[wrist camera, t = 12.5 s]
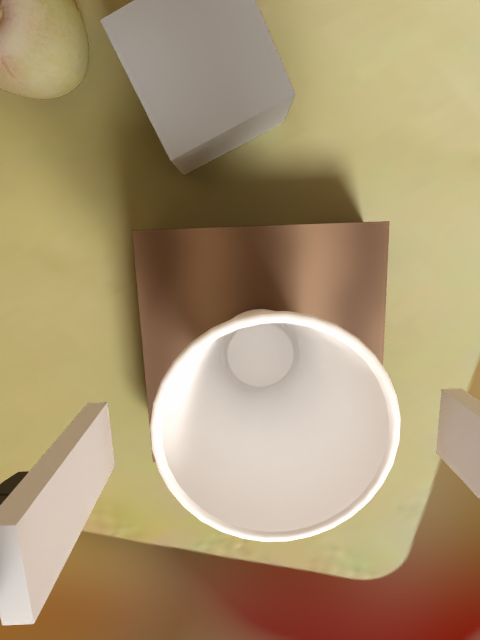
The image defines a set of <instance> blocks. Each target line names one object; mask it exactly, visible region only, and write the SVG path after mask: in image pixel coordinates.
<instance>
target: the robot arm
mask: <svg viewBox="0 0 480 640" xmlns="http://www.w3.org/2000/svg"><path fill="white" fill-rule="evenodd" d="M436 453H437V454H438V455H439V456H440V457H441V458H442V459H443V460H444V461H445V462H446V463H447V464H448V466H449V467H450V468H451V469H452V470H453V471H454V472H455V473H456V474H457V475H458V476H459V477H460V478H461V480H462V481H463V482H464V483H465V484H466V485H467V486H468V487H469V488H470V489H471V490H472V491H473V492H474V493H475V495H476V496H477V497H478V498H479V499H480V401H478V400H477V399H476V398H474V397H473V396H471V395H470V394H468V393H467V392H465V391H464V390H462V389H461V388H460V389H441V401H440V414H439V426H438V439H437V451H436ZM114 466H115V463H114V454H113V446H112V437H111V428H110V419H109V411H108V402H103V403H88V404H87V405H86V406H85V407H84V408H83V409H82V411H81V412H80V413H79V414H78V415H77V416H76V418H75V419H74V420H73V421H72V422H71V423H70V425H69V426H68V427H67V428H66V429H65V430H64V432H63V433H62V434H61V435H60V436H59V437H58V439H57V440H56V441H55V442H54V443H53V444H52V446H51V447H50V448H49V449H48V450H47V451H46V453H45V454H44V455H43V456H42V457H41V458H40V460H39V461H38V462H37V463H36V464H35V465H34V467H33V468H32V469H31V470H30V471H29V472H18V473H16V474H15V475H13V476H12V477H10V478H8V479H7V480H5V481H4V482H2V483H1V484H0V617H1V622H2V625H21V624H34V623H35V621H36V619H37V617H38V615H39V613H40V611H41V609H42V607H43V605H44V603H45V601H46V599H47V597H48V596H49V594H50V591H51V589H52V588H53V586H54V584H55V582H56V580H57V578H58V576H59V574H60V572H61V570H62V568H63V566H64V564H65V562H66V560H67V558H68V556H69V554H70V552H71V550H72V548H73V547H74V545H75V543H76V541H77V538H78V537H79V535H80V533H81V531H82V529H83V527H84V525H85V523H86V521H87V519H88V517H89V515H90V513H91V511H92V509H93V507H94V505H95V503H96V501H97V499H98V498H99V496H100V494H101V492H102V490H103V488H104V486H105V484H106V482H107V480H108V478H109V476H110V474H111V472H112V470H113V468H114Z"/></svg>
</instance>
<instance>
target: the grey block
mask: <svg viewBox="0 0 480 640" xmlns="http://www.w3.org/2000/svg"><path fill="white" fill-rule="evenodd" d="M100 22H101V24H102V26H103V28H104V30H105V32H106V34H107V36H108V38H109V40H110V42H111V44H112V46H113V48H114V50H115V52H116V54H117V56H118V58H119V60H120V62H121V64H122V65H123V67H124V69H125V71H126V73H127V75H128V77H129V79H130V81H131V83H132V85H133V87H134V89H135V91H136V93H137V95H138V97H139V99H140V101H141V103H142V105H143V107H144V109H145V111H146V113H147V115H148V117H149V119H150V121H151V123H152V125H153V127H154V129H155V131H156V133H157V135H158V137H159V139H160V141H161V143H162V145H163V147H164V149H165V151H166V153H167V155H168V157H169V159H170V161H171V162H172V163H173V164H174V165H175V167H176V168H177V169H178V170H179V171H180V172H181V173H182V174H183V175H186V174H188V173H190V172H192V171H193V170H195V169H197V168H199V167H201V166H203V165H205V164H207V163H209V162H210V161H212V160H214V159H216V158H218V157H220V156H222V155H224V154H226V153H227V152H229V151H231V150H233V149H235V148H237V147H239V146H241V145H242V144H244V143H246V142H248V141H250V140H252V139H254V138H256V137H258V136H259V135H261V134H263V133H265V132H267V131H269V130H271V129H273V128H275V127H276V126H278V125H280V124H282V123H284V120H285V118H286V116H287V113H288V111H289V108H290V106H291V103H292V101H293V99H294V96H295V92H294V89H293V87H292V85H291V82H290V80H289V78H288V75H287V73H286V70H285V68H284V66H283V63H282V61H281V59H280V56H279V54H278V52H277V49H276V47H275V44H274V42H273V40H272V37H271V35H270V33H269V30H268V28H267V26H266V23H265V21H264V18H263V16H262V14H261V11H260V9H259V7H258V4H257V2H256V0H134V1H132V2H130V3H128V4H127V5H125V6H123V7H122V8H120V9H118V10H116V11H115V12H113V13H111V14H109V15H108V16H106V17H104V18H103V19H101V20H100Z"/></svg>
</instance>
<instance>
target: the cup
mask: <svg viewBox="0 0 480 640" xmlns="http://www.w3.org/2000/svg"><path fill="white" fill-rule="evenodd" d="M400 420H401V419H400V412H399V406H398V399H397V395H396V392H395V390H394V387H393V385H392V382H391V380H390V377H389V375H388V373H387V372H386V370H385V369H384V367H383V366H382V364H381V363H380V361H379V360H378V358H377V357H376V355H375V354H374V353H373V352H372V351H371V350H370V349H369V348H368V347H367V346H366V345H365V344H364V343H363V342H362V341H361V340H360V339H359V338H358V337H356V336H354V335H353V334H351V333H350V332H348V331H346V330H345V329H343V328H342V327H340V326H338V325H337V324H335V323H332V322H329V321H327V320H324V319H321V318H319V317H316V316H313V315H308V314H302V313H296V312H290V311H273V310H267V309H254V310H250V311H245V312H243V313H241V314H239V315H237V316H235V317H234V318H232V319H231V320H228V321H226V322H224V323H222V324H219V325H217V326H215V327H213V328H211V329H209V330H208V331H207V332H205V333H204V334H202V335H201V336H199V337H198V338H197V339H195V340H194V341H192V342H191V343H190V344H189V345H188V346H187V347H186V348H185V349H184V350H183V351H182V352H181V353H180V354H179V355H178V357H177V358H176V359H175V360H174V361H173V362H172V364H171V366H170V367H169V369H168V371H167V372H166V374H165V375H164V377H163V379H162V380H161V383H160V385H159V388H158V391H157V394H156V397H155V399H154V402H153V408H152V415H151V423H150V432H151V444H152V451H153V454H154V457H155V461H156V464H157V467H158V470H159V472H160V474H161V476H162V478H163V480H164V481H165V483H166V485H167V487H168V489H169V490H170V492H171V493H172V494H173V495H174V496H175V497H176V499H177V500H178V501H179V502H180V503H181V504H182V506H183V507H184V508H185V509H187V510H188V511H189V512H190V513H192V514H193V515H194V516H195V517H197V518H198V519H199V520H200V521H202V522H204V523H206V524H208V525H209V526H211V527H213V528H215V529H217V530H219V531H221V532H224V533H227V534H230V535H233V536H236V537H239V538H242V539H249V540H256V541H263V542H276V541H291V540H296V539H301V538H306V537H311V536H314V535H316V534H319V533H321V532H324V531H327V530H329V529H332V528H334V527H335V526H337V525H339V524H340V523H342V522H344V521H345V520H347V519H349V518H350V517H352V516H353V515H354V514H355V513H356V512H358V511H359V510H360V509H361V508H362V507H363V506H364V505H366V504H367V503H368V502H369V501H370V500H371V498H372V497H373V496H374V495H375V493H376V492H377V491H378V489H379V488H380V487H381V486H382V484H383V483H384V481H385V479H386V477H387V475H388V473H389V471H390V469H391V467H392V465H393V463H394V459H395V455H396V452H397V448H398V444H399V436H400Z"/></svg>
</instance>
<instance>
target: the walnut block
mask: <svg viewBox="0 0 480 640" xmlns="http://www.w3.org/2000/svg"><path fill="white" fill-rule="evenodd" d="M132 236H133V247H134V258H135V269H136V280H137V291H138V302H139V313H140V324H141V336H142V347H143V358H144V369H145V380H146V391H147V402H148V413H149V424H150V423H151V415H152V408H153V402H154V399H155V397H156V394H157V391H158V388H159V385H160V383H161V380H162V379H163V377H164V375H165V374H166V372H167V371H168V369H169V367H170V366H171V364H172V362H173V361H174V360H175V359H176V358H177V357H178V355H179V354H180V353H181V352H182V351H183V350H184V349H185V348H186V347H187V346H188V345H189V344H190V343H191V342H192V341H194V340H195V339H197V338H198V337H199V336H201V335H202V334H204V333H205V332H207V331H208V330H209V329H211V328H213V327H215V326H217V325H219V324H222V323H224V322H226V321H228V320H231V319H232V318H234V317H235V316H237V315H239V314H241V313H243V312H245V311H250V310H254V309H267V310H273V311H290V312H296V313H302V314H308V315H313V316H316V317H319V318H321V319H324V320H327V321H329V322H332V323H335V324H337V325H338V326H340V327H342V328H343V329H345V330H346V331H348V332H350V333H351V334H353V335H354V336H356V337H358V338H359V339H360V340H361V341H362V342H363V343H364V344H365V345H366V346H367V347H368V348H369V349H370V350H371V351H372V352H373V353H374V354H375V355H376V357H377V358H378V360H379V361H380V363H381V364H382V366H383V353H384V331H385V308H386V286H387V263H388V241H389V221H384V222H356V223H328V224H300V225H271V226H243V227H215V228H187V229H159V230H132ZM150 435H151V432H150ZM151 446H152V444H151ZM152 457H153V462H156V461H155V457H154V454H153V451H152Z"/></svg>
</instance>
